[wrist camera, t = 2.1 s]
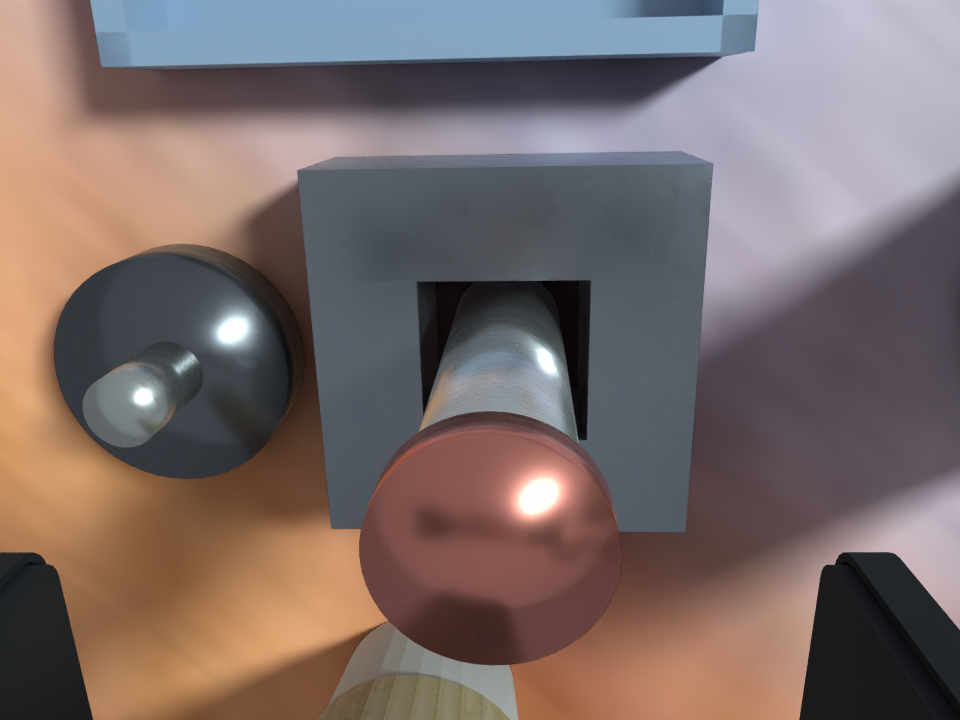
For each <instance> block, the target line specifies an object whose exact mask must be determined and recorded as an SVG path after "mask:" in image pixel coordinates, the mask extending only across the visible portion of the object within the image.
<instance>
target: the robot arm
mask: <svg viewBox="0 0 960 720" xmlns="http://www.w3.org/2000/svg"><path fill="white" fill-rule="evenodd" d="M0 720H93V718H92V714H91V709H90V705H89V701H88V697H87V693H86V688H85V684H84V680H83V676H82V672H81V667H80V663H79V659H78V655H77V650H76V646H75V642H74V638H73V634H72V629H71V625H70V621H69V617H68V613H67V608H66V604H65V600H64V596H63V592H62V587H61V583H60V579H59V575H58V573H57V570H56V569H55V568H54V567H53V566H51V565H46V562H45V560H44V559H43V558H42V556H41V555H39V554H37V553H0ZM799 720H960V630H959V629H958V627H957V626H956V625H955V624H954V623H953V621H952V620H951V619H950V618H949V617H948V615H947V614H946V613H945V612H944V611H943V609H942V608H941V607H940V606H939V605H938V603H937V602H936V601H935V600H934V599H933V597H932V596H931V595H930V594H929V593H928V591H927V590H926V589H925V588H924V587H923V585H922V584H921V583H920V582H919V581H918V579H917V578H916V577H915V576H914V575H913V573H912V572H911V571H910V570H909V569H908V567H907V566H906V565H905V564H904V563H903V561H902V560H901V559H900V558H899V557H898V556H897V555H896V554H894V553H889V552H844V553H842V554H840V555H839V557H838V558H837V560H836V563H835V565H826V566H824V568H823V570H822V572H821V577H820V583H819V590H818V597H817V604H816V610H815V617H814V624H813V631H812V638H811V644H810V651H809V658H808V665H807V672H806V678H805V685H804V692H803V699H802V706H801V713H800V719H799Z"/></svg>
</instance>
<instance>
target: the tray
mask: <svg viewBox="0 0 960 720" xmlns="http://www.w3.org/2000/svg"><path fill="white" fill-rule="evenodd" d="M90 2H91V8H92V14H93V20H94V26H95V32H96V38H97V44H98V50H99V56H100V62H101V67H108V68H125V69H141V70H189V69H230V68H271V67H312V66H353V65H394V64H435V63H477V62H518V61H559V60H600V59H641V58H682V57H723V56H729V55H735V54H740V53H746V52H752V51H754V50H755V38H756V27H757V15H758V4H759V0H90Z"/></svg>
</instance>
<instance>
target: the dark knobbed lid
mask: <svg viewBox="0 0 960 720" xmlns="http://www.w3.org/2000/svg"><path fill="white" fill-rule="evenodd" d="M54 362H55V368H56V375H57V378H58V382H59V385H60V389H61V391H62V393H63V396H64V398H65V401H66V403H67V404H68V406H69V408H70V410H71V411H72V413H73V415H74V416H75V418H76V419H77V420H78V422H79V423H80V425H81V426H82V427H83V428H84V430H85V431H86V432H87V433H88V434H89V435H90V436H91V437H92V438H93V439H94V440H95V441H96V442H97V443H98V444H99V445H101V446H102V447H103V448H104V449H105V450H107V451H108V452H110V453H111V454H112V455H114V456H115V457H117V458H118V459H120V460H122V461H124V462H125V463H127V464H129V465H131V466H133V467H136V468H138V469H140V470H143V471H146V472H149V473H152V474H156V475H160V476H165V477H170V478H182V479H193V478H204V477H210V476H215V475H218V474H221V473H224V472H228V471H230V470H232V469H234V468H236V467H238V466H240V465H242V464H243V463H245V462H246V461H248V460H249V459H251V458H252V457H253V456H254V455H255V454H256V453H258V452H259V451H260V450H261V449H262V448H263V446H264V445H265V444H266V443H267V442H268V440H269V439H270V438H271V436H272V435H273V434H274V432H275V431H276V430H277V428H278V427H279V426H280V424H281V423H282V421H283V420H284V419H285V417H286V416H287V415H288V413H289V412H290V410H291V408H292V407H293V405H294V403H295V401H296V399H297V396H298V394H299V392H300V388H301V384H302V380H303V374H304V349H303V343H302V338H301V334H300V331H299V328H298V325H297V322H296V320H295V318H294V316H293V314H292V311H291V310H290V308H289V306H288V305H287V303H286V301H285V300H284V298H283V297H282V296H281V294H280V293H279V292H278V291H277V289H276V288H275V287H274V286H273V285H272V284H271V283H270V282H269V281H268V280H267V279H266V278H265V277H264V276H263V275H262V274H260V273H259V272H258V271H257V270H255V269H254V268H253V267H252V266H250V265H248V264H247V263H245V262H243V261H242V260H240V259H238V258H236V257H234V256H232V255H230V254H228V253H225V252H223V251H219V250H216V249H213V248H210V247H205V246H199V245H190V244H175V245H165V246H160V247H156V248H152V249H149V250H147V251H144V252H141V253H139V254H136V255H134V256H132V257H129V258H127V259H124V260H122V261H120V262H117V263H115V264H112V265H110V266H108V267H106V268H104V269H102V270H100V271H99V272H97V273H95V274H94V275H92V276H91V277H90V278H88V279H87V280H86V281H85V282H83V283H82V284H81V285H80V287H79V288H78V289H77V290H76V291H75V292H74V293H73V295H72V296H71V298H70V299H69V300H68V302H67V303H66V305H65V307H64V309H63V312H62V314H61V316H60V318H59V322H58V325H57V329H56V334H55V341H54Z"/></svg>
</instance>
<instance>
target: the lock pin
mask: <svg viewBox="0 0 960 720" xmlns="http://www.w3.org/2000/svg"><path fill="white" fill-rule="evenodd" d="M359 557H360V563H361V569H362V573H363V577H364V580H365V583H366V586H367V588H368V590H369V592H370V594H371V596H372V599H373V600H374V602H375V603H376V605H377V606H378V608H379V609H380V611H381V612H382V613H383V615H384V616H385V617H386V618H387V619H388V620H389V622H390V623H391V624H392V625H393V626H394V627H396V628H397V629H398V630H399V631H400V632H401V633H402V634H403V635H405V636H406V637H408V638H409V639H410V640H412V641H413V642H415V643H416V644H418V645H420V646H422V647H423V648H425V649H427V650H429V651H431V652H434V653H436V654H438V655H441V656H443V657H446V658H450V659H453V660H456V661H460V662H465V663H471V664H477V665H491V666H493V665H512V664H519V663H525V662H529V661H533V660H537V659H540V658H543V657H545V656H548V655H551V654H553V653H555V652H557V651H559V650H561V649H563V648H565V647H567V646H569V645H570V644H572V643H573V642H574V641H576V640H577V639H579V638H580V637H581V636H583V635H584V634H585V633H586V632H587V631H588V630H589V629H590V628H591V627H593V625H594V624H595V623H596V622H597V621H598V619H599V618H600V617H601V616H602V615H603V613H604V612H605V610H606V608H607V607H608V605H609V604H610V602H611V600H612V597H613V595H614V593H615V591H616V588H617V585H618V581H619V578H620V573H621V565H622V544H621V539H620V533H619V528H618V523H617V519H616V514H615V510H614V505H613V500H612V496H611V493H610V490H609V487H608V484H607V482H606V480H605V478H604V476H603V474H602V472H601V470H600V469H599V467H598V466H597V464H596V463H595V462H594V460H593V459H592V457H591V456H590V455H589V454H588V453H587V452H586V451H585V450H584V449H583V448H582V447H581V446H580V445H579V441H578V435H577V428H576V422H575V415H574V409H573V402H572V396H571V389H570V383H569V376H568V370H567V363H566V357H565V350H564V344H563V337H562V331H561V324H560V318H559V312H558V307H557V304H556V301H555V299H554V297H553V295H552V294H551V292H550V291H549V289H548V288H547V287H546V286H545V285H544V284H543V283H542V282H540V281H474V282H473V283H472V284H471V285H470V286H469V287H468V288H467V289H466V291H465V292H464V294H463V295H462V297H461V299H460V301H459V304H458V308H457V311H456V314H455V317H454V320H453V324H452V327H451V330H450V333H449V336H448V340H447V343H446V346H445V349H444V353H443V356H442V359H441V362H440V365H439V369H438V372H437V375H436V378H435V381H434V385H433V388H432V391H431V394H430V397H429V401H428V404H427V407H426V410H425V413H424V417H423V420H422V423H421V426H420V429H419V432H418V433H416V434H415V435H413V436H412V437H411V438H410V439H409V440H407V441H406V442H405V443H404V444H403V445H402V446H401V447H400V448H399V449H398V450H397V451H396V452H395V453H394V454H393V456H392V457H391V458H390V460H389V461H388V463H387V464H386V466H385V467H384V469H383V471H382V473H381V475H380V477H379V479H378V482H377V484H376V487H375V490H374V492H373V495H372V498H371V500H370V503H369V506H368V508H367V511H366V514H365V517H364V520H363V524H362V527H361V534H360V541H359Z"/></svg>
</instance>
